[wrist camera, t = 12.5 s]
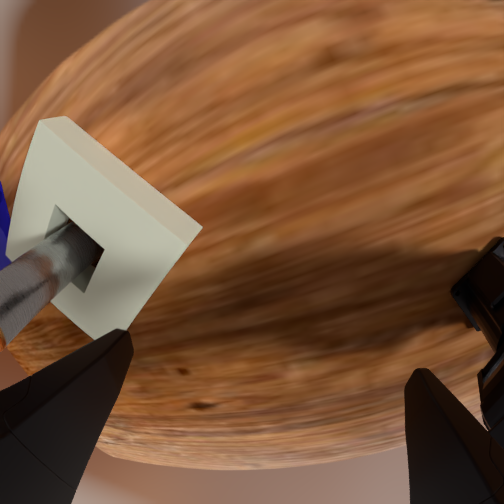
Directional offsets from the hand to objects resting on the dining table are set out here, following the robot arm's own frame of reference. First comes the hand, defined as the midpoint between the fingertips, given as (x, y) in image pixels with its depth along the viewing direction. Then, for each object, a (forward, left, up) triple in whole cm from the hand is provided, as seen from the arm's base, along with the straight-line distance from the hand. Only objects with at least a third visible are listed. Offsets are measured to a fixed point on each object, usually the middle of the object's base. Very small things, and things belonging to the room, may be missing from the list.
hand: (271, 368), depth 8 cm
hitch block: (+11, +11, -12) cm, 20 cm away
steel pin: (+11, +11, -12) cm, 20 cm away
